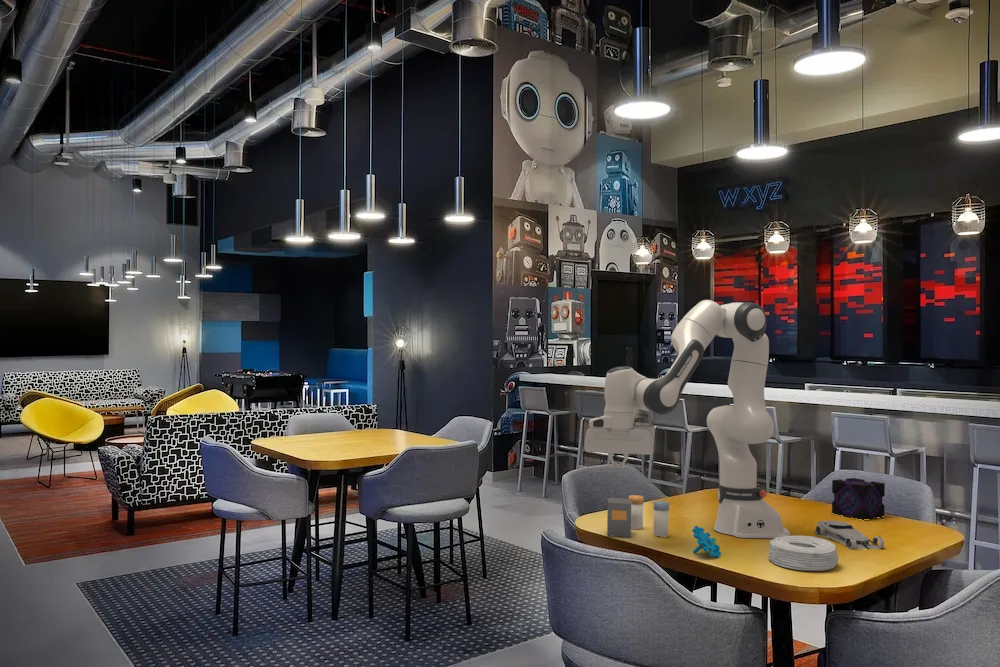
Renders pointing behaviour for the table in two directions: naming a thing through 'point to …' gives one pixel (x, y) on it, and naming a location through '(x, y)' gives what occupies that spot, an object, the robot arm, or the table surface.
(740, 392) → the robot arm
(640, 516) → the orange cap canister
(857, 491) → the energy cube
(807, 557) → the cable
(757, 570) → the table surface
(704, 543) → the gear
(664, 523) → the blue cap canister
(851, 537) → the car model
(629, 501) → the box
